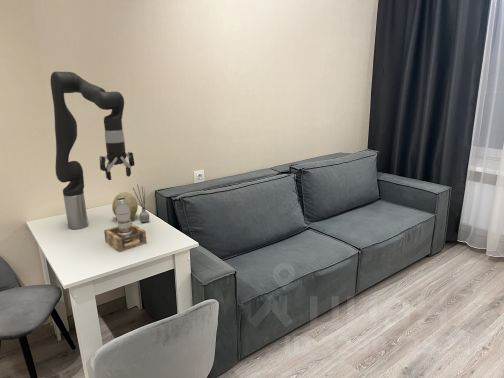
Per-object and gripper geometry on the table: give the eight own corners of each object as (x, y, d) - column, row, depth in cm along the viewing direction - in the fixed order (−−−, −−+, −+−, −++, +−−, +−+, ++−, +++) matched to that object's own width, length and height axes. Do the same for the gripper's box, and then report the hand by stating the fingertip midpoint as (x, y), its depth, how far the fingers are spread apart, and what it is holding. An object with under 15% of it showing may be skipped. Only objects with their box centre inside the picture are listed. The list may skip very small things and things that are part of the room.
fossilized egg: (108, 222, 195) (105, 195, 191) (122, 214, 207) (119, 188, 203) (131, 224, 192) (128, 196, 188) (143, 215, 204) (140, 189, 200)
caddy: (105, 242, 172) (104, 230, 170) (132, 234, 180) (130, 222, 178) (119, 252, 162) (118, 239, 160) (146, 243, 171) (145, 230, 169)
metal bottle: (120, 238, 174) (115, 197, 168) (134, 237, 174) (130, 196, 168) (116, 244, 167) (111, 201, 162) (131, 243, 168) (127, 201, 162)
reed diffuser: (153, 223, 194) (150, 186, 188) (140, 226, 190) (137, 188, 184) (144, 217, 201) (140, 182, 196) (132, 221, 197) (128, 184, 191)
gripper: (126, 137, 165) (130, 173, 170) (94, 141, 155) (99, 179, 160) (134, 139, 160) (138, 176, 164) (102, 143, 150) (106, 182, 155)
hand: (119, 177), depth 162 cm, fingers open, 8 cm apart
